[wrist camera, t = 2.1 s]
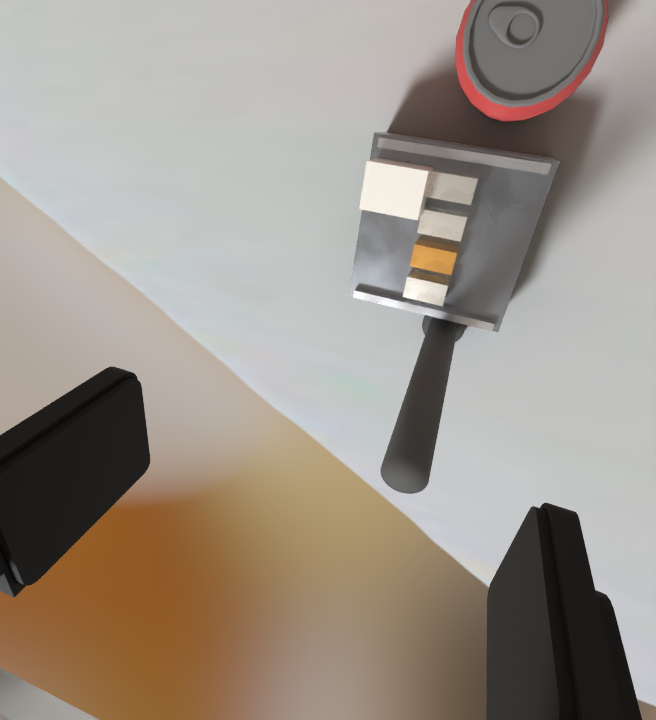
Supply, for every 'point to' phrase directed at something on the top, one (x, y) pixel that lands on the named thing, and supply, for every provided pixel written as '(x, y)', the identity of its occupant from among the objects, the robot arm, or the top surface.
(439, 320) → the post
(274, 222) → the top surface
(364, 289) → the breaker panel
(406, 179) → the white block
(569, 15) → the beer can
